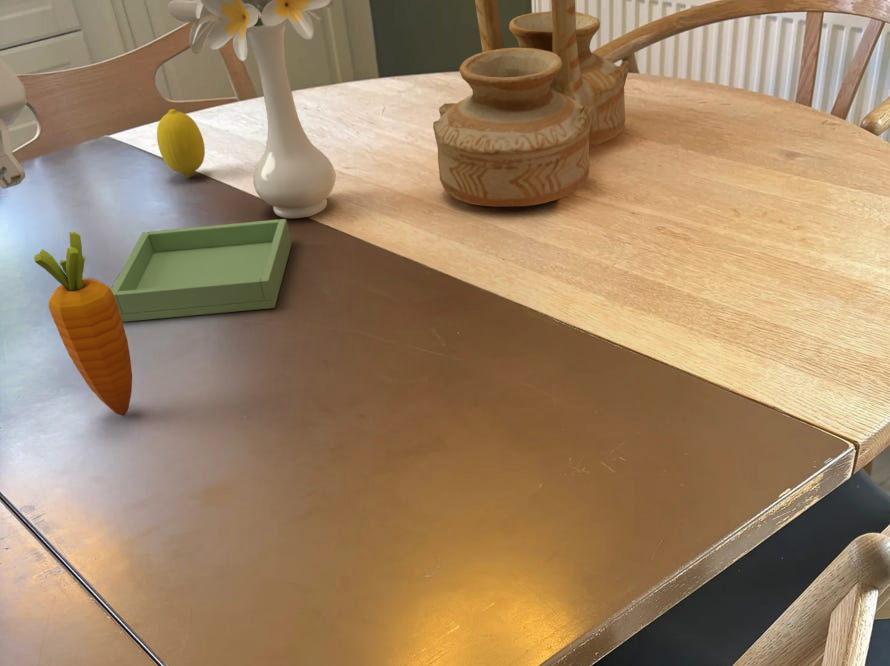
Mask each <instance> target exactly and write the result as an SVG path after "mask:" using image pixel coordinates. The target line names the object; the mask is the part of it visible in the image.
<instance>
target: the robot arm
mask: <svg viewBox="0 0 890 666" xmlns="http://www.w3.org/2000/svg"><path fill="white" fill-rule="evenodd" d="M26 106H27V89H26V88H25V85H24V84H23V83H22V81H21V79H20V78H19V77H18V76H17V75H16V73H15V72H14V71H13V69H12V68H11V67H10V66H9V65H8V63H7V62H6V61H5V60H4V58H3V57H2V56H1V55H0V188H2V189H4V190H6V189H8V188H12V187H16V186H18V185H20V184H21V183H23V180H24V179H25V178H26V172H25V169H24V168H23V167H22V165H21V164H20V163H19V161H18V159H16V157H15V156H14V155H13V154H14V151H13V146H12V140H11V135H10V129H9V127H8V126H10V125H12V124H14V122H16V120H17V119H18V117H19V116H20V115H21V113H22V112H23V111H24V109H25V108H26Z"/></svg>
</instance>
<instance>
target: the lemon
mask: <svg viewBox="0 0 890 666" xmlns="http://www.w3.org/2000/svg"><path fill="white" fill-rule="evenodd" d="M157 124H158V125H157V127H156V140H157V146H158V150H159V153H160V155H161V157H162V159H163V161H164V163H165V164H166V165H167V166H168V167H169V168H170V169H171V170H172V171H174V172H176V173H179V174H183V175H184V176H185V177H186V178H193V176H194V174H195V172H196V171H197V170H199V169H200V167H201V166H202V165H203V164H204V161H205V154H206V149H205V141H204V138H203V135H202V132H201V130H200V128H199V126H198V125H197V123H196V121H194V119H193V118H192V117H191V116H190V115H189V114H186V113H184V112H183V111H182V112H181V111H178V110H176V109H175V108H170V109H169V110H168V111H167V113H166V114H164V115H163V116H162V117H161V119H160V120H159V122H158V123H157Z"/></svg>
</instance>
